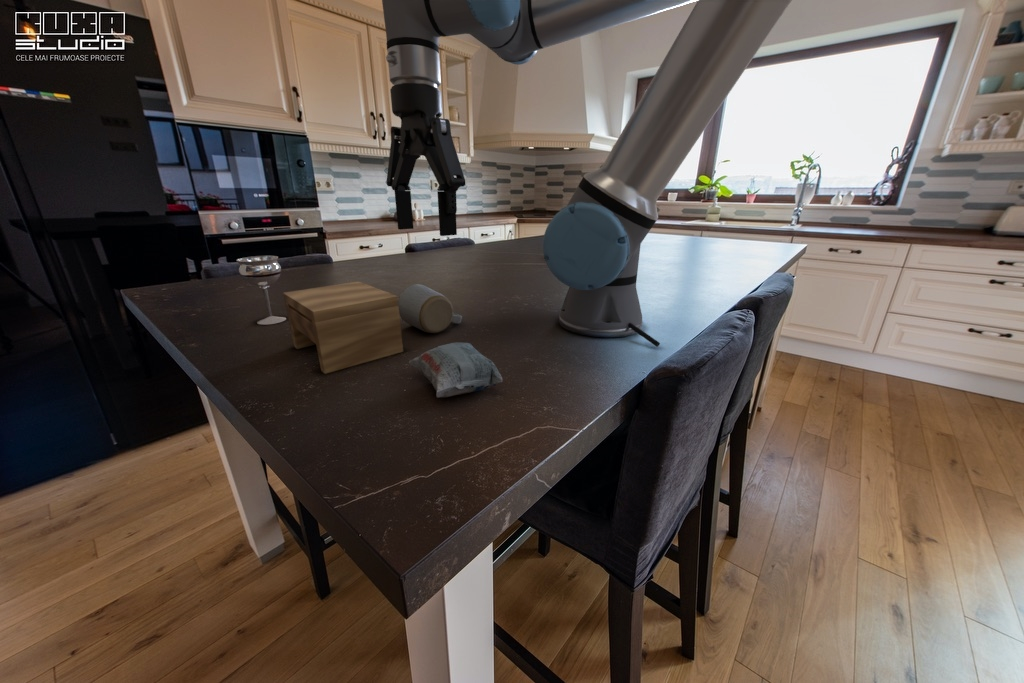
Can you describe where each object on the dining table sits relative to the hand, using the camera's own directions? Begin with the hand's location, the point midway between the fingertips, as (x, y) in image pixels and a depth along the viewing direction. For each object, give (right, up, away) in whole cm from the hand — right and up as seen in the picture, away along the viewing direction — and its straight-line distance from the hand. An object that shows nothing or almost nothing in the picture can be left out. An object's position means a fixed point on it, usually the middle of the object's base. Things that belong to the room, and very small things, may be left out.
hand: (425, 232), depth 67 cm
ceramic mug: (0, -16, +6) cm, 17 cm away
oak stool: (-12, -20, -4) cm, 23 cm away
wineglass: (-32, -15, +10) cm, 37 cm away
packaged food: (+7, -25, -16) cm, 30 cm away
